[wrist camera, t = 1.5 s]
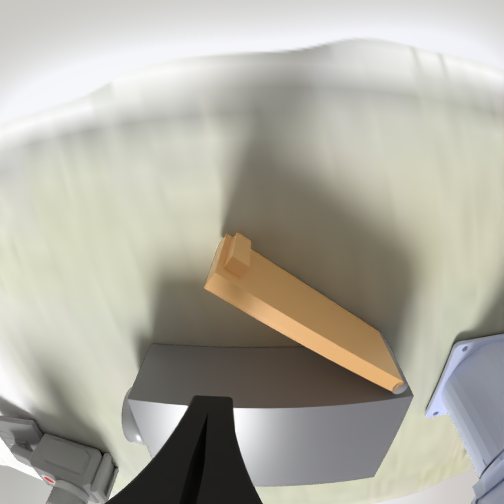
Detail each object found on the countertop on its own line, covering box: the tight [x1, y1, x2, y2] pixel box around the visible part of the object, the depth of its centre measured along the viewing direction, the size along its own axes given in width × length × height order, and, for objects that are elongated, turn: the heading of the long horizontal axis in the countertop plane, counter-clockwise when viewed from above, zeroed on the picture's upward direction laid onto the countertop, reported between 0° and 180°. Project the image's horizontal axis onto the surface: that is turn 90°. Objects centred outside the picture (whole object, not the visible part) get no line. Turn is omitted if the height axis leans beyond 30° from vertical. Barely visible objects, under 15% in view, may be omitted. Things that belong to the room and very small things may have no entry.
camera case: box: [122, 342, 414, 486], centre depth 19 cm, size 17×9×5 cm, turn 91°
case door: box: [204, 232, 408, 394], centre depth 15 cm, size 12×1×5 cm, turn 56°
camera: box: [0, 416, 119, 504], centre depth 21 cm, size 9×12×15 cm
